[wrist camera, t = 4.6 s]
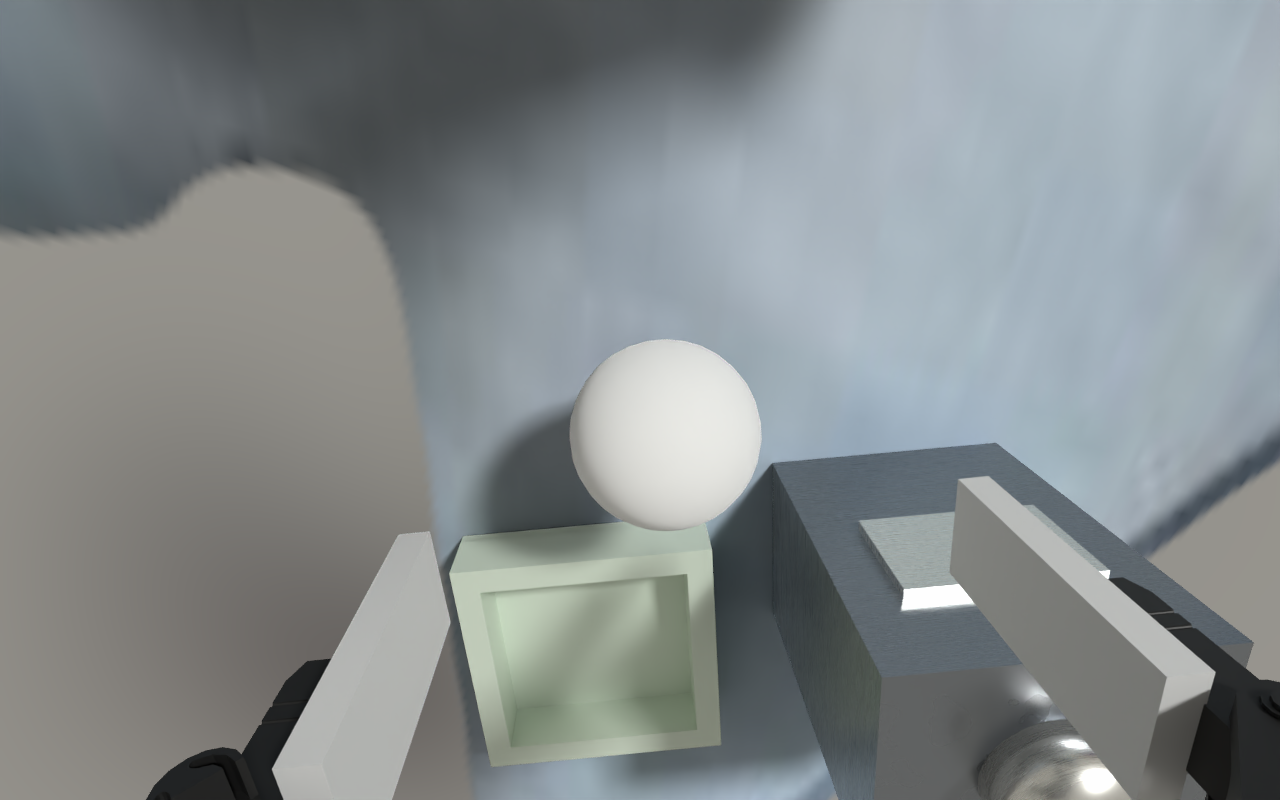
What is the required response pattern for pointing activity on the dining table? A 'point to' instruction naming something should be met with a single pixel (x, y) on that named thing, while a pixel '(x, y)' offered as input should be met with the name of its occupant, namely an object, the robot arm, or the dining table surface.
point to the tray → (590, 640)
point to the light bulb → (665, 435)
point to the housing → (933, 631)
